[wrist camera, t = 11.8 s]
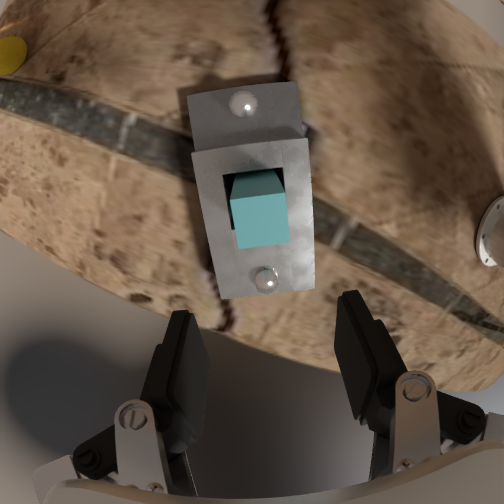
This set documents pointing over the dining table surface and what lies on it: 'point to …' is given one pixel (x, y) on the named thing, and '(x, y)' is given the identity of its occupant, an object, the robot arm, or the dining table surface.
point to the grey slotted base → (247, 159)
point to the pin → (259, 209)
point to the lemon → (11, 54)
